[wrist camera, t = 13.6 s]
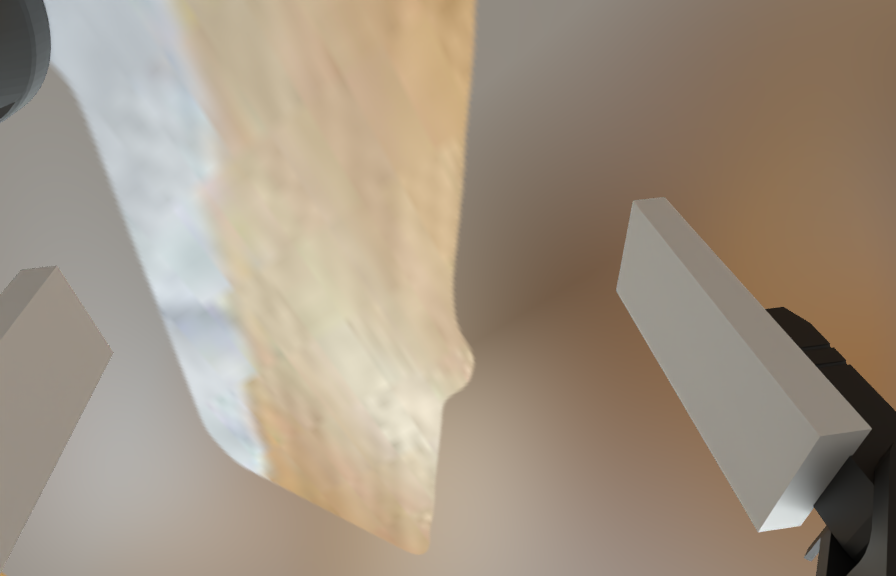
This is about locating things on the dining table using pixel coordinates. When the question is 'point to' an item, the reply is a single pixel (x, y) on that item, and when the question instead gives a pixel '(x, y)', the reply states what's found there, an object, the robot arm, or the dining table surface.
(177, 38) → the dining table surface
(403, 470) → the dining table surface
